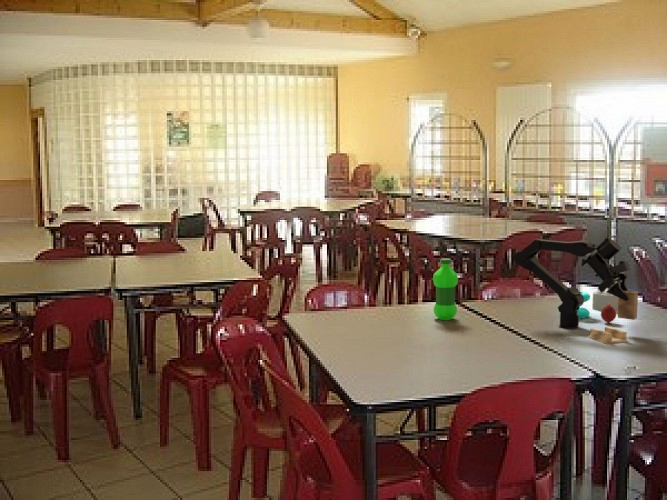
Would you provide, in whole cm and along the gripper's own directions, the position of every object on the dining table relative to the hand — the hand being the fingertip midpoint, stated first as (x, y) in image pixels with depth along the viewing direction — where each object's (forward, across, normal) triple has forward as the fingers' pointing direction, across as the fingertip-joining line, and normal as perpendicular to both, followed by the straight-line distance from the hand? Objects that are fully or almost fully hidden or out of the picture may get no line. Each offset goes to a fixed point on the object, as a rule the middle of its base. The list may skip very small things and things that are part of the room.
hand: (629, 299), depth 297 cm
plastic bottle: (-39, -16, +59) cm, 73 cm away
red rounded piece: (+1, +15, +19) cm, 24 cm away
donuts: (-10, +20, +29) cm, 37 cm away
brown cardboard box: (+5, 0, +5) cm, 7 cm away
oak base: (+7, -12, +12) cm, 19 cm away
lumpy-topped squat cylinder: (-6, +44, +26) cm, 52 cm away
